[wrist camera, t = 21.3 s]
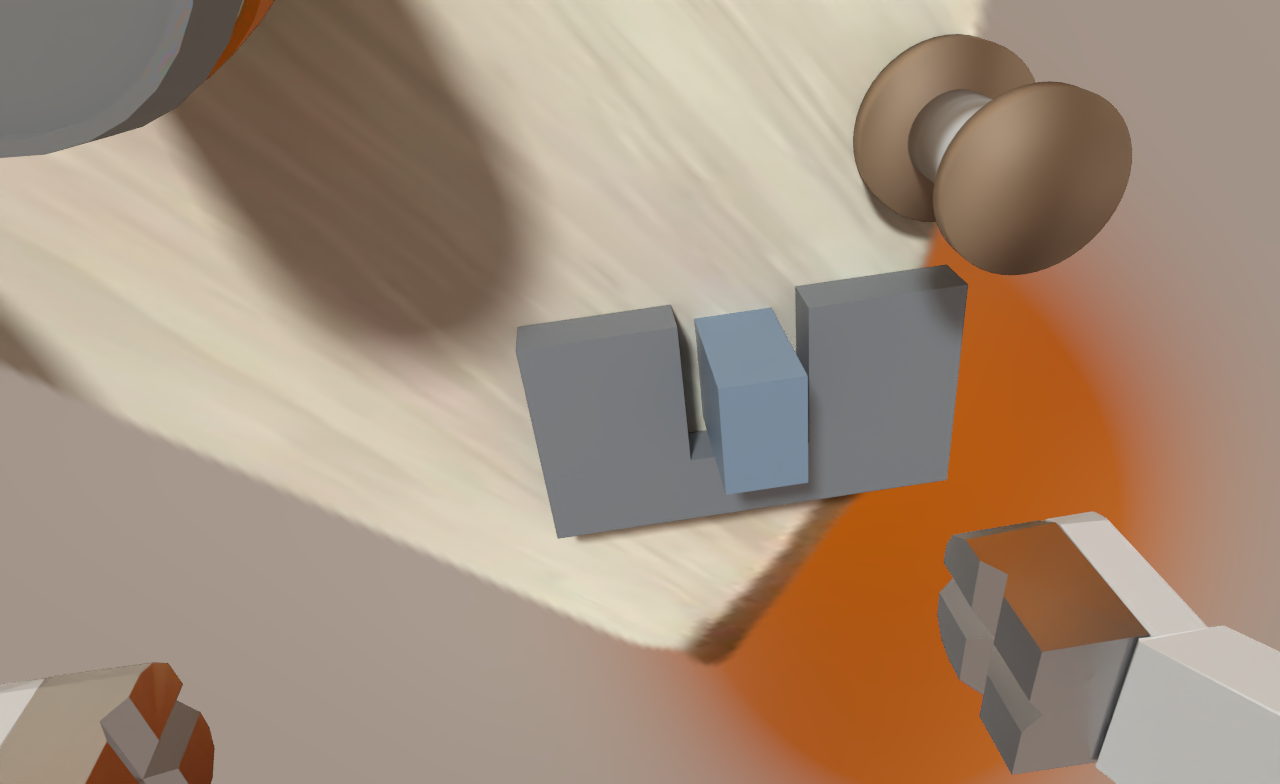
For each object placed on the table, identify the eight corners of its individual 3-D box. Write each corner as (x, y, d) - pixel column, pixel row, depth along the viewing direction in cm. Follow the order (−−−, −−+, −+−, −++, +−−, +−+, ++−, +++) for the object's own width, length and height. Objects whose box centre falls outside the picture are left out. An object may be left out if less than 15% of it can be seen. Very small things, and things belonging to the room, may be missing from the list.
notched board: (557, 509, 47) (557, 538, 45) (517, 327, 41) (515, 350, 39) (929, 453, 48) (946, 479, 45) (946, 264, 41) (968, 284, 39)
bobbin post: (851, 222, 40) (922, 300, 32) (855, 47, 35) (939, 88, 28) (1011, 199, 40) (1121, 271, 32) (1035, 22, 35) (1168, 56, 28)
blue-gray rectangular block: (702, 415, 45) (725, 494, 39) (694, 318, 42) (718, 389, 36) (774, 404, 45) (808, 482, 39) (771, 307, 42) (807, 375, 36)
